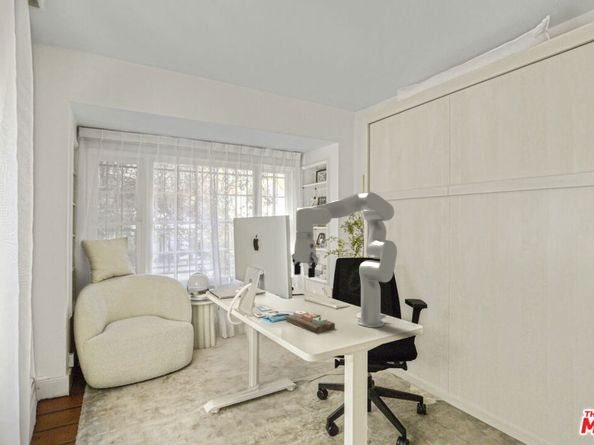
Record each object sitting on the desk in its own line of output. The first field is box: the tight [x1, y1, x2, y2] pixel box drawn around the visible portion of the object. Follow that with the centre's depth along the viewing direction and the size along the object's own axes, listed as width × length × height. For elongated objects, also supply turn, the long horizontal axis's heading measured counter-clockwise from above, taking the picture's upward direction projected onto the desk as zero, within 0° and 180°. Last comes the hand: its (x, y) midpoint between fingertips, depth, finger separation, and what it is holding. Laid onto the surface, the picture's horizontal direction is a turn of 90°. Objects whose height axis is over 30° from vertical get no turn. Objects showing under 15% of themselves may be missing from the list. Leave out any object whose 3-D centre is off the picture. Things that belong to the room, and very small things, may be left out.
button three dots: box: [312, 316, 328, 326], centre depth 156 cm, size 5×5×3 cm
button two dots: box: [303, 313, 318, 322], centre depth 162 cm, size 5×5×3 cm
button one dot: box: [293, 310, 308, 318], centre depth 168 cm, size 5×5×3 cm
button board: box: [285, 314, 336, 334], centre depth 162 cm, size 12×23×2 cm, turn 37°
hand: (304, 276), depth 143 cm, fingers open, 9 cm apart
